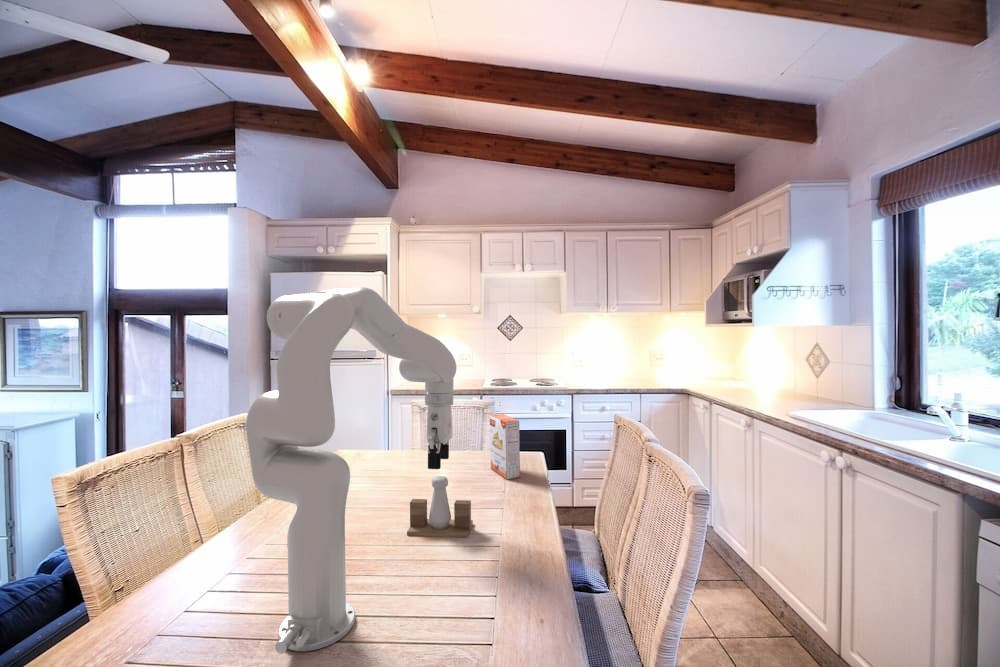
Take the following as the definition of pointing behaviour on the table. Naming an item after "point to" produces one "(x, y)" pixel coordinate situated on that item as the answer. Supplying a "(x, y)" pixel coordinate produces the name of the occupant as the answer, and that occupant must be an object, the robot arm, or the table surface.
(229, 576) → the table surface
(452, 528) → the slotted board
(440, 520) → the salt shaker
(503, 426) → the cracker box
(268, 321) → the robot arm
